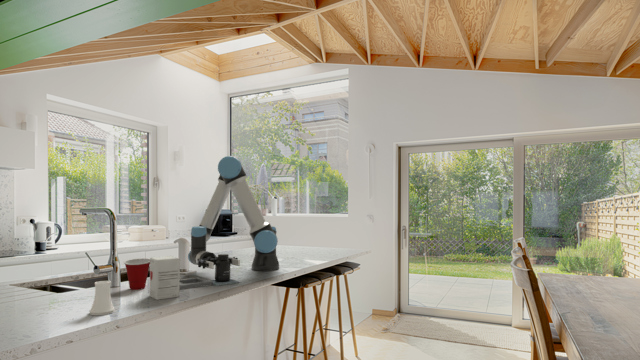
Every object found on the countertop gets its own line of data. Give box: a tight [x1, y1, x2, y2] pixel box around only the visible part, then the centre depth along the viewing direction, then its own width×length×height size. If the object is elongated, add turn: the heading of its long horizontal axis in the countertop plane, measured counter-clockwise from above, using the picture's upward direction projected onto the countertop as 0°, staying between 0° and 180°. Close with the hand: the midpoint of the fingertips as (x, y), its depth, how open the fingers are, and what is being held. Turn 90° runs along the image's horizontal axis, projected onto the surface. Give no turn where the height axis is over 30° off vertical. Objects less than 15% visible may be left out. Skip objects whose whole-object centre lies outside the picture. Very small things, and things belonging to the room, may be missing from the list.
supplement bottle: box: [214, 253, 232, 282], centre depth 188 cm, size 7×7×12 cm
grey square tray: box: [179, 276, 213, 290], centre depth 182 cm, size 14×14×2 cm
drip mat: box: [208, 278, 240, 287], centre depth 187 cm, size 11×11×1 cm
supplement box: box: [148, 255, 181, 301], centre depth 160 cm, size 9×9×15 cm
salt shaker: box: [88, 280, 116, 316], centre depth 136 cm, size 8×8×10 cm
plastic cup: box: [123, 258, 150, 291], centre depth 174 cm, size 11×11×12 cm
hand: (226, 264), depth 185 cm, fingers open, 12 cm apart
